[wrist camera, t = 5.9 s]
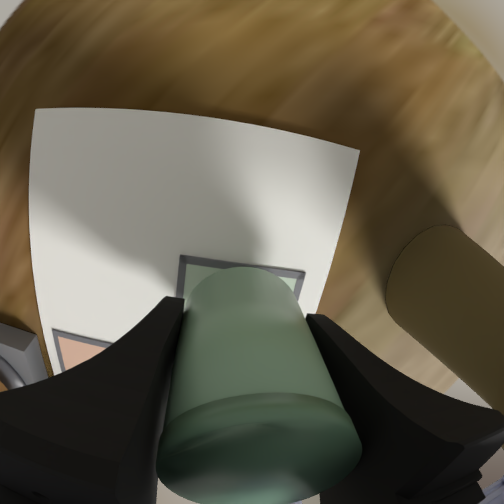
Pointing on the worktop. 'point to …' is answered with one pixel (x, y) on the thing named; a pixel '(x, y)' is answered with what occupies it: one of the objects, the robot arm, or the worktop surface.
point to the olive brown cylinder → (453, 306)
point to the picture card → (170, 215)
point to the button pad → (20, 358)
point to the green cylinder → (251, 399)
